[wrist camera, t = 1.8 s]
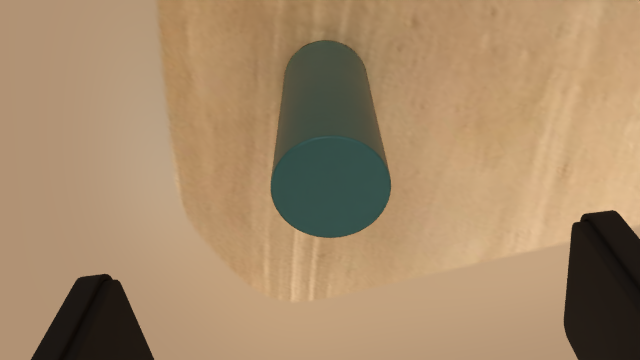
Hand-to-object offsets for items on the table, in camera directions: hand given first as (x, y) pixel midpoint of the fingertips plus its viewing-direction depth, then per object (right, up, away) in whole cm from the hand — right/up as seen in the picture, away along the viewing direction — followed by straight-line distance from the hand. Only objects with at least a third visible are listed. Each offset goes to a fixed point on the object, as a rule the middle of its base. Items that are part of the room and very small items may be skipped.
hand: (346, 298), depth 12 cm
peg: (0, +6, +10) cm, 12 cm away
